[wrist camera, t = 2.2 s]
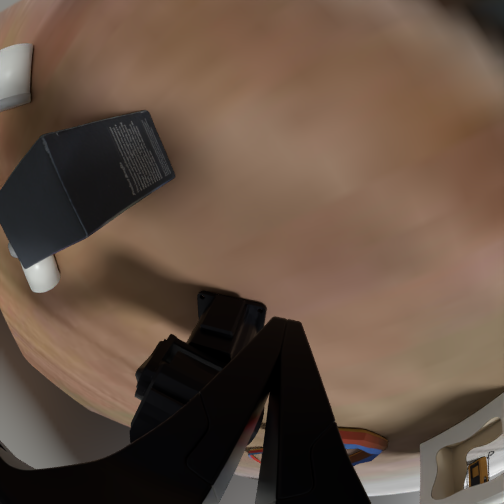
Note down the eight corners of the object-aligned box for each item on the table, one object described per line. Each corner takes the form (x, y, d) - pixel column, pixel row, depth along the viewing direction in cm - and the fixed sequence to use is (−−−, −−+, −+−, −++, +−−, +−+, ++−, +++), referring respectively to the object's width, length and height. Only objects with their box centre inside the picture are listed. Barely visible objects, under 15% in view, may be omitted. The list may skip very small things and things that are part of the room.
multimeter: (481, 463, 43) (483, 510, 26) (461, 469, 45) (461, 518, 28) (507, 445, 35) (512, 497, 19) (487, 452, 37) (490, 507, 21)
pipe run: (69, 276, 31) (40, 303, 26) (44, 266, 32) (18, 289, 27) (43, 41, 15) (-1, 44, 10) (18, 56, 16) (-20, 62, 11)
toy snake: (326, 470, 50) (324, 486, 46) (239, 457, 51) (234, 474, 47) (402, 423, 34) (404, 448, 30) (276, 408, 35) (271, 437, 31)
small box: (99, 217, 25) (23, 274, 16) (74, 160, 22) (-11, 202, 13) (180, 180, 21) (87, 244, 12) (148, 107, 18) (37, 129, 9)
